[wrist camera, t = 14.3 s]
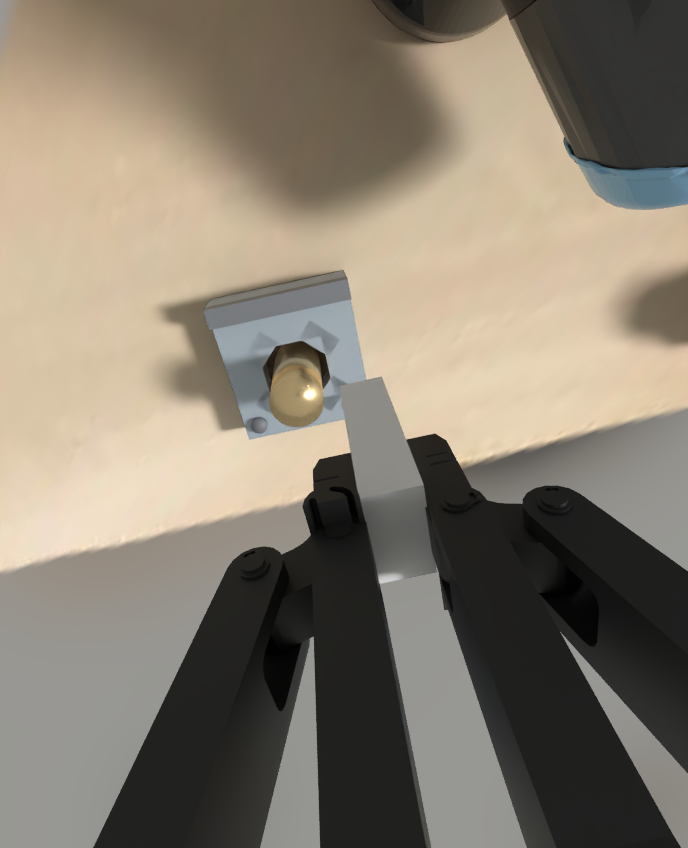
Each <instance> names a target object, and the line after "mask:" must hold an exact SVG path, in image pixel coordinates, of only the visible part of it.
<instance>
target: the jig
mask: <svg viewBox="0 0 688 848" xmlns="http://www.w3.org/2000/svg"><path fill="white" fill-rule="evenodd" d="M203 313H204V316H205V319H206V322H207V325H208V328H209V330H213V332H214V335H215V338H216V341H217V344H218V347H219V350H220V353H221V356H222V359H223V362H224V365H225V368H226V371H227V374H228V377H229V380H230V383H231V386H232V389H233V392H234V395H235V398H236V401H237V404H238V407H239V410H240V413H241V416H242V419H243V422H244V425H245V428H246V431H247V434H248V437H249V440H250V439H254V438H259V437H264V436H268V435H273V434H278V433H282V432H287V431H292V430H297V429H301V428H306V427H311V426H315V425H320V424H325V423H329V422H334V421H339V420H343V419H345V416H344V411H343V405H342V399H341V394H340V388H339V386H341V385H346V384H350V383H355V382H359V381H364V380H366V376H365V371H364V366H363V360H362V355H361V350H360V345H359V340H358V334H357V329H356V324H355V319H354V314H353V308H352V303H351V295H350V290H349V284H348V279H347V277H346V274H345V272H344V270H343V271H338V272H334V273H329V274H325V275H320V276H316V277H311V278H307V279H302V280H298V281H293V282H289V283H284V284H280V285H275V286H270V287H266V288H261V289H257V290H252V291H248V292H243V293H239V294H234V295H230V296H225V297H221V298H216V299H212V300H210V301H209V303H208V304H207V306H206V307H205V308H204V310H203ZM297 341H304V342H306V343H307V344H309V345H311V346H312V347H314V348H316V349H317V350H319V351H321V352H322V353H324V354H325V356H326V360H327V364H328V370H327V372H326V373H325V375H324V376H323V378H322V388H323V398H324V407H323V411H322V413H321V415H320V416H319V417H318V419H317V420H316V421H314V422H313V423H311V424H310V425H307V426H304V427H290V426H286V425H284V424H282V423H281V422H279V421H278V420H277V419H276V418H275V417H274V416H273V414H272V412H271V410H270V405H269V399H270V392H271V385H272V381H271V378H270V375H269V372H268V368H267V365H266V361H267V359H268V358H269V356H270V355H271V353H272V351H273V350H274V348H275V347H276V346H279V345H284V344H288V343H293V342H297Z"/></svg>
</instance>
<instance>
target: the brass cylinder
mask: <svg viewBox="0 0 688 848" xmlns="http://www.w3.org/2000/svg"><path fill="white" fill-rule="evenodd" d="M269 405H270V410H271V412H272V414H273V416H274V417H275V418H276V419H277V420H278V421H279V422H281V423H282V424H284V425H286V426H290V427H304V426H307V425H310V424H311V423H313V422H314V421H316V420H317V419H318V417H319V416H320V415H321V413H322V411H323V407H324V398H323V388H322V378H321V367H320V358H319V355H318V353H317V351H316V350H315V349H314V347H312V346H311V345H309V344H307V343H306V342H303V341H297V342H293V343H288V344H285V345H283V346H282V347H281V348H280V349H279V350H278V352H277V354H276V357H275V364H274V371H273V378H272V385H271V392H270V399H269Z"/></svg>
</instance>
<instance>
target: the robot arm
mask: <svg viewBox="0 0 688 848" xmlns="http://www.w3.org/2000/svg"><path fill="white" fill-rule="evenodd" d="M373 2H374V3H375V5H376V6H377V7H378V8H379V10H380V11H381V12H382V13H383V14H384V15H385V16H386V17H387V18H388V19H389V20H390V21H391V22H392V23H393V24H395V25H396V26H397V27H399V28H400V29H402V30H403V31H405V32H407V33H409V34H410V35H413V36H415V37H418V38H421V39H424V40H429V41H435V42H451V41H457V40H462V39H465V38H469V37H471V36H474V35H476V34H478V33H480V32H482V31H484V30H485V29H487V28H489V27H490V26H492V25H493V24H494V23H496V22H497V21H498V20H500V19H501V18H502V17H504V16H505V15H506V14H507V15H508V17H509V21H510V23H511V25H512V27H513V29H514V31H515V34H516V36H517V38H518V40H519V42H520V44H521V46H522V48H523V50H524V52H525V55H526V57H527V59H528V61H529V63H530V65H531V67H532V69H533V71H534V73H535V75H536V78H537V80H538V82H539V84H540V86H541V88H542V90H543V92H544V94H545V96H546V99H547V101H548V103H549V105H550V107H551V109H552V111H553V113H554V115H555V117H556V120H557V122H558V124H559V126H560V128H561V130H562V132H563V134H564V136H565V137H564V145H565V148H566V150H567V153H568V154H569V156H570V157H571V158H572V159H573V160H574V161H575V162H576V163H577V164H578V165H579V167H580V168H581V170H582V172H583V174H584V176H585V178H586V179H587V181H588V183H589V185H590V187H591V189H592V190H593V192H594V193H595V194H596V195H597V196H599V197H601V198H602V199H604V200H605V201H606V202H608V203H610V204H612V205H614V206H617V207H621V208H626V209H636V210H651V209H662V208H669V207H675V206H680V205H686V204H688V0H373ZM339 388H340V394H341V399H342V405H343V411H344V416H345V422H346V428H347V433H348V439H349V445H350V450H351V453H347V454H343V455H338V456H333V457H328V458H324V459H319V461H318V463H317V464H316V466H315V468H314V469H313V482H314V483H313V485H314V491H313V492H311V493H310V494H309V495H308V496H307V497H306V498H305V500H304V503H303V509H304V513H305V516H306V520H307V523H308V526H309V529H310V533H311V536H310V537H309V538H308V539H307V540H306V541H305V542H304V543H303V544H301V545H300V546H298V547H296V548H295V549H293V550H291V551H289V552H286V553H284V554H282V555H281V554H280V552H278V551H277V550H275V549H274V548H271V547H258V548H253V549H250V550H249V551H246V552H244V553H242V554H240V555H239V556H238V557H237V558H235V559H234V560H233V561H232V563H231V564H230V565H229V567H228V568H227V570H226V572H225V574H224V577H223V579H222V581H221V583H220V585H219V587H218V589H217V591H216V593H215V595H214V597H213V599H212V601H211V604H210V606H209V608H208V610H207V612H206V614H205V616H204V618H203V620H202V622H201V624H200V626H199V629H198V631H197V633H196V635H195V637H194V639H193V641H192V643H191V645H190V647H189V649H188V651H187V654H186V656H185V658H184V660H183V662H182V664H181V666H180V668H179V670H178V672H177V674H176V677H175V679H174V681H173V683H172V685H171V687H170V689H169V691H168V693H167V695H166V697H165V700H164V702H163V704H162V706H161V708H160V710H159V712H158V714H157V716H156V718H155V720H154V722H153V724H152V726H151V729H150V731H149V733H148V735H147V737H146V739H145V741H144V743H143V745H142V747H141V749H140V751H139V754H138V756H137V758H136V760H135V762H134V764H133V766H132V768H131V771H130V773H129V774H128V777H127V779H126V781H125V783H124V785H123V787H122V789H121V791H120V793H119V795H118V797H117V799H116V802H115V804H114V806H113V808H112V810H111V812H110V814H109V816H108V818H107V820H106V822H105V825H104V827H103V829H102V831H101V833H100V835H99V837H98V839H97V841H96V843H95V845H94V847H93V848H260V845H261V841H262V837H263V833H264V829H265V825H266V820H267V816H268V812H269V808H270V804H271V799H272V796H273V792H274V787H275V783H276V779H277V775H278V771H279V767H280V763H281V759H282V754H283V751H284V747H285V743H286V739H287V734H288V730H289V726H290V722H291V718H292V714H293V710H294V706H295V702H296V697H297V693H298V689H299V685H300V681H301V677H302V673H303V669H304V665H305V661H306V657H307V653H308V648H309V641H310V640H309V639H310V638H311V637H313V636H314V654H315V655H314V657H315V689H316V722H317V754H318V786H319V787H318V788H319V821H320V848H431V844H430V839H429V833H428V829H427V823H426V818H425V813H424V808H423V803H422V797H421V792H420V788H419V782H418V777H417V772H416V767H415V761H414V756H413V751H412V746H411V741H410V736H409V731H408V726H407V720H406V715H405V710H404V705H403V700H402V695H401V690H400V684H399V680H398V674H397V669H396V664H395V659H394V653H393V648H392V643H391V638H390V633H389V628H388V623H387V617H386V612H385V607H384V602H383V597H382V593H381V589H380V584H381V583H386V582H391V581H396V580H401V579H406V578H411V577H416V576H420V575H425V574H430V573H434V572H437V571H436V565H437V568H438V572H439V577H440V584H441V591H442V598H443V604H444V610H448V611H449V614H450V616H451V619H452V623H453V626H454V629H455V632H456V635H457V638H458V640H459V644H460V646H461V650H462V653H463V656H464V659H465V662H466V665H467V668H468V671H469V674H470V677H471V680H472V683H473V686H474V689H475V692H476V695H477V698H478V701H479V704H480V707H481V710H482V713H483V716H484V719H485V722H486V726H487V728H488V731H489V734H490V738H491V741H492V744H493V747H494V749H495V753H496V756H497V759H498V762H499V765H500V768H501V771H502V774H503V777H504V780H505V783H506V786H507V789H508V792H509V795H510V798H511V801H512V804H513V807H514V810H515V813H516V816H517V819H518V822H519V825H520V828H521V831H522V834H523V837H524V840H525V843H526V846H527V848H681V847H680V845H679V844H678V842H677V841H676V839H675V837H674V836H673V834H672V832H671V830H670V829H669V827H668V825H667V823H666V821H665V820H664V818H663V816H662V814H661V812H660V811H659V809H658V807H657V805H656V803H655V802H654V800H653V798H652V796H651V794H650V793H649V791H648V789H647V787H646V785H645V784H644V782H643V780H642V778H641V776H640V775H639V773H638V771H637V769H636V767H635V766H634V764H633V762H632V761H631V759H630V757H629V755H628V753H627V751H626V750H625V748H624V746H623V744H622V742H621V741H620V739H619V737H618V735H617V734H616V732H615V730H614V728H613V726H612V724H611V723H610V721H609V719H608V717H607V715H606V714H605V712H604V710H603V708H602V707H601V705H600V703H599V701H598V699H597V697H596V696H595V694H594V692H593V690H592V689H591V687H590V685H589V683H588V681H587V680H586V678H585V676H584V674H583V673H582V671H581V669H580V667H579V665H578V663H577V662H576V660H575V658H574V656H573V654H572V653H571V651H570V649H569V648H568V646H567V644H566V642H565V640H564V638H563V636H562V635H561V633H562V634H563V635H564V636H565V637H566V638H567V640H568V641H569V642H570V643H571V644H572V645H573V646H574V647H575V648H576V650H577V651H578V652H579V653H580V654H581V655H582V656H583V657H584V659H585V660H586V661H587V662H588V663H589V664H590V665H591V666H592V667H593V669H594V670H595V671H596V672H597V673H598V674H599V675H600V676H601V677H602V679H603V680H604V681H605V682H606V683H607V684H608V685H609V686H610V687H611V689H612V690H613V691H614V692H615V693H616V694H617V695H618V696H619V697H620V699H621V700H622V701H623V702H624V703H625V704H626V705H627V706H628V707H629V708H630V710H631V711H632V712H633V713H634V714H635V715H636V716H637V717H638V718H639V720H640V721H641V722H642V723H643V724H644V725H645V726H646V727H647V728H648V730H649V731H650V732H651V733H652V734H653V735H654V736H655V737H656V738H657V740H658V741H659V742H660V743H661V744H662V745H663V746H664V747H665V748H666V750H667V751H668V752H669V753H670V754H671V755H672V756H673V757H674V758H675V760H676V761H677V762H678V763H679V764H680V765H681V766H682V767H683V768H684V769H685V771H686V772H687V773H688V571H686V570H685V569H684V568H682V567H681V566H679V565H678V564H677V563H675V562H674V561H673V560H671V559H670V558H668V557H667V556H666V555H664V554H663V553H661V552H660V551H659V550H657V549H655V548H654V547H653V546H652V545H650V544H649V543H647V542H646V541H645V540H643V539H642V538H641V537H639V536H638V535H636V534H635V533H634V532H632V531H631V530H629V529H628V528H627V527H625V526H624V525H623V524H621V523H620V522H618V521H617V520H616V519H614V518H613V517H611V516H610V515H609V514H607V513H606V512H604V511H603V510H602V509H600V508H599V507H597V506H596V505H595V504H593V503H592V502H591V501H589V500H588V499H586V498H585V497H584V496H582V495H581V494H579V493H577V492H575V491H574V490H571V489H569V488H565V487H561V486H543V487H538V488H535V489H533V490H531V491H530V492H528V493H527V494H526V495H525V497H524V498H523V504H504V503H496V502H492V501H488V500H486V498H485V497H484V496H483V495H482V494H481V493H480V492H479V491H477V490H475V489H473V488H471V486H470V484H469V482H468V480H467V478H466V476H465V475H464V473H463V471H462V469H461V467H460V465H459V463H458V461H456V458H455V456H454V454H453V452H452V450H451V448H450V446H449V445H448V443H447V441H446V440H444V439H443V438H441V437H440V436H438V435H436V434H431V435H426V436H422V437H417V438H412V439H408V440H406V438H405V436H404V433H403V430H402V428H401V425H400V423H399V420H398V418H397V415H396V413H395V410H394V407H393V405H392V402H391V400H390V397H389V395H388V392H387V389H386V387H385V384H384V382H383V379H382V377H378V378H373V379H369V380H364V381H359V382H355V383H350V384H346V385H341V386H339ZM435 563H436V564H435ZM560 632H561V633H560Z"/></svg>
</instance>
